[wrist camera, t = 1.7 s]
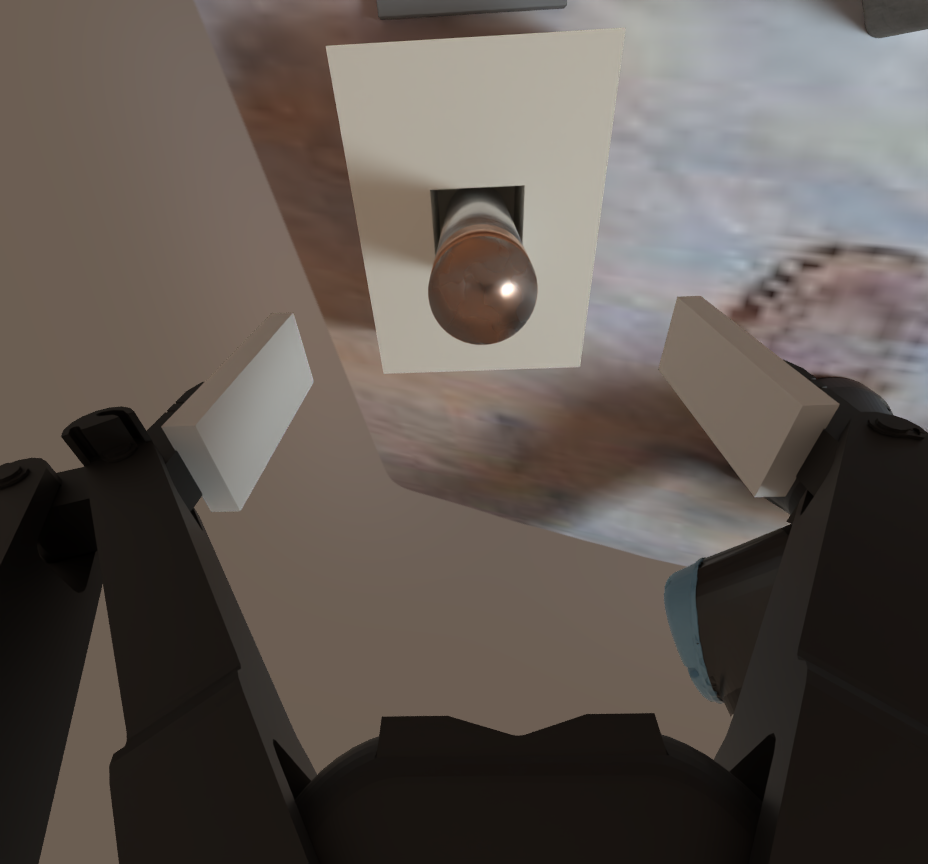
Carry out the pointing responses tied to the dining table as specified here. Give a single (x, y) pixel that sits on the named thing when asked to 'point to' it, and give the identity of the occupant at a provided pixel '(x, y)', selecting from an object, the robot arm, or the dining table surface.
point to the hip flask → (895, 16)
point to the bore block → (478, 177)
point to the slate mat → (459, 7)
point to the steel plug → (481, 270)
